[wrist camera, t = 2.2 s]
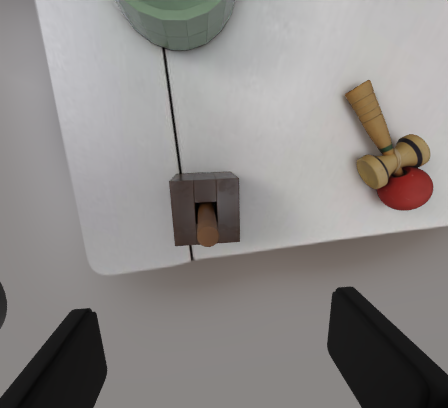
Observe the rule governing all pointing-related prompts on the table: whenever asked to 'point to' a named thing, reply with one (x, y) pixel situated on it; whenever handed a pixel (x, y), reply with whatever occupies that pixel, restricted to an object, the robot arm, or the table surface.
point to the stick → (207, 225)
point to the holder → (205, 192)
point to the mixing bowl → (177, 20)
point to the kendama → (391, 156)
